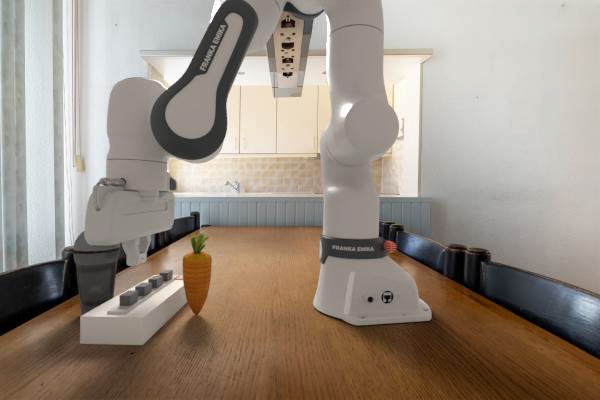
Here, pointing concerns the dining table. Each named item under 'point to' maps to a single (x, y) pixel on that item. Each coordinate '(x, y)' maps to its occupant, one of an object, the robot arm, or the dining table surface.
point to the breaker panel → (135, 312)
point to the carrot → (197, 274)
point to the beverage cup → (95, 272)
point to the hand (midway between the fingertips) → (136, 263)
